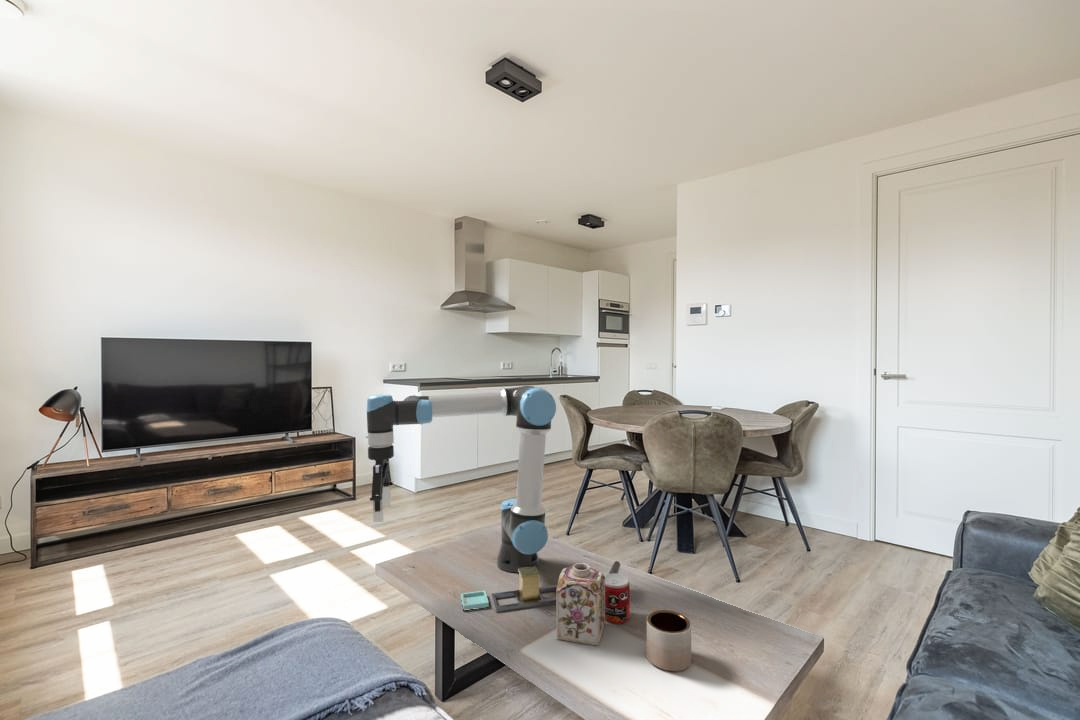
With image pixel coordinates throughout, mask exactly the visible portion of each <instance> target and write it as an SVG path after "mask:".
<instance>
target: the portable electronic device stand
mask: <svg viewBox="0 0 1080 720" xmlns="http://www.w3.org/2000/svg"><path fill="white" fill-rule="evenodd" d="M620 568H621V563H620V561H617V560H615V561H614V562H613V563H612V566H611V568H610V570H609V573H608V574H612V573H617V574H619V570H620Z"/></svg>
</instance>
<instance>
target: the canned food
mask: <svg viewBox="0 0 1080 720" xmlns="http://www.w3.org/2000/svg"><path fill="white" fill-rule="evenodd" d="M604 577H605V622H608V623H609V624H613V625H621V624H624V623H627V621H628V620H629V619H630V578H629V577H628V576H627V575H625V574H621V573H618V574H617V573H612V574H609V573H607V574H605V575H604Z"/></svg>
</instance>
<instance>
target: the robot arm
mask: <svg viewBox="0 0 1080 720" xmlns="http://www.w3.org/2000/svg"><path fill="white" fill-rule="evenodd" d="M556 412H557V403H556V400H555V398H554V396H553V395H552V394H551V392H549V391H548V390H547V389H545V388H542V387H537V386H532V385H523V386H518V387H510V388H502V389H501V390H500V391H494V392H491V391H490V392H475V393H474V392H472V393H470V392H469V393H454V394H453V393H452V394H436V395H434V394H433V395H420V396H419V395H409V396H407V397H405V398H404V399H403V400H394V399H393V396H392V395H391V394H374V395H370V396H368V398H367V399H366V424H367V425H366V427H367V434H366V435H365V438H366V439H367V445H368V447H367V458H368V459H369V460H371V461H375V463H374V465H373V466H372V481H371V483H372V486H371V497H369V501H370V502H372V507H373V508H372V512H373V513H372V514H373V515H372V516H373V517H372V518H373V521H372V522H373V523H381V522H382V523H383V522H384V508H389V507H391V505H392V504H391V499H392V498H391V486H393V485H394V483H393V481H392V477H391V468H390V467H391V466H390V459H392V458H393V457H394V456H395V455H394V453H395V452H394V448H395V447H394V445H393V444H394V442H395V441H394V440H395V439H394V438H395V437H394V426H401V425H402V426H406V425H407V426H409V425H424V424H431V423H432V421H433V418H443V417H445V418H446V417H460V416H476V415H477V416H478V415H479V416H480V415H493V414H494V415H495V414H502V415H503V416H504V417H506V416H513V417H514V416H515V417H516V422H515V423H516V424H515V425H516V426H515V428H517V430H518V431H519V446H518V447H519V448H518V465H517V480H516V481H517V482H516V494H515V496H516V497H515V498H509V499H505V500H504V501H502V502H501V506H500V507H501V508H500V513H501V516H500V519H501V522H500V523H501V543H500V546H499V550H498V553H497V556H496V566H497V567H498V569H500V570H502V571H504V572H508V573H519V571H518V568H524V567H532V566H536V568H537V567H538V566H539V564H540V563H539V561H540V560H539V559H540V558H539V553H538V552H540V551H541V550H543V548H545V546H546V544H547V542H548V539H549V533H548V528H547V525H546V508H545V507H544V505H542V499H543V485H544V484H543V483H544V468H545V454H546V453H545V452H546V439H547V434H548V432H549V431H550V430H551V428H552V420H553V419H554V417H555V415H556Z"/></svg>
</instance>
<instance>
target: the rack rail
mask: <svg viewBox="0 0 1080 720" xmlns="http://www.w3.org/2000/svg"><path fill="white" fill-rule="evenodd" d="M556 589H557V584H554V585H545V586H539V600H536V601H529V602H521V600H520V597H519V589H515V590H510V591H509V590H508V591H503V592H500V591H499V592H496V593H495V592H494V593H491V594H490V595H491V597H492V598H491V601H492V600H493V601H492V604H493V608H494V609H495V613H502V611H503V612H508V611H509V612H510V611H516V610H517V611H518V610H522V609H530V608H536V607H537V608H538V607H542V606H550V605H556V597H549V598H544V597H543V595H542V593H549V592H556ZM505 597H507V598H512V597H514V598H515V600H516V603H510V604H503V605H498V602H497V599H496V598H500V599H505Z"/></svg>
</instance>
